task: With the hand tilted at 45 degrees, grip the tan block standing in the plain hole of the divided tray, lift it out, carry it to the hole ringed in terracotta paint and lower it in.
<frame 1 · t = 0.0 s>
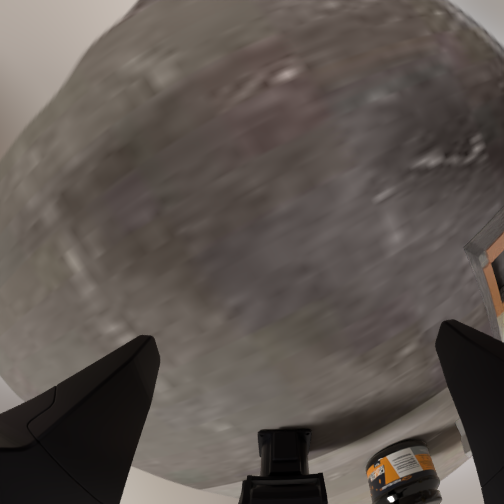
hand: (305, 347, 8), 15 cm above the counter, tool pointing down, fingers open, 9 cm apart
supplement container: (395, 454, 33), on the counter
lighter: (459, 419, 30), on the counter
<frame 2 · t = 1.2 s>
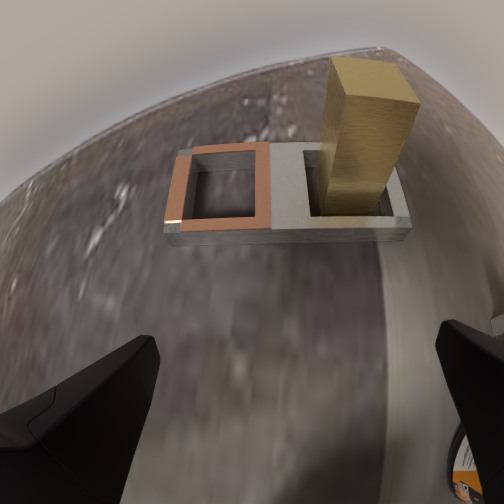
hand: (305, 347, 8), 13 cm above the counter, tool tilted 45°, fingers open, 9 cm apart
supplement container: (484, 447, 15), on the counter
tan block: (342, 197, 25), resting in divided tray
lighter: (494, 327, 19), on the counter
divided tray: (287, 197, 26), on the counter
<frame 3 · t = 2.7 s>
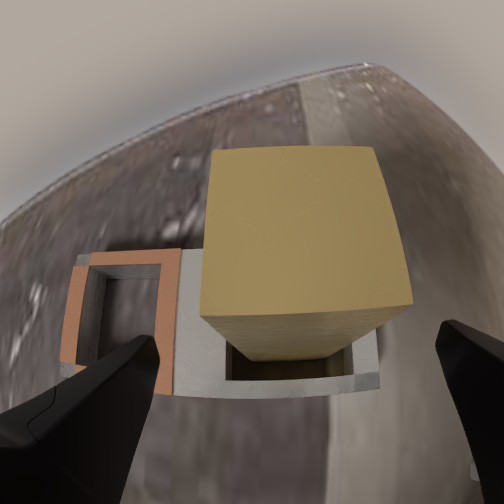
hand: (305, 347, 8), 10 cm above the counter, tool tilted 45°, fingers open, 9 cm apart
tan block: (287, 326, 18), resting in divided tray
lighter: (474, 467, 12), on the counter
divided tray: (209, 327, 19), on the counter
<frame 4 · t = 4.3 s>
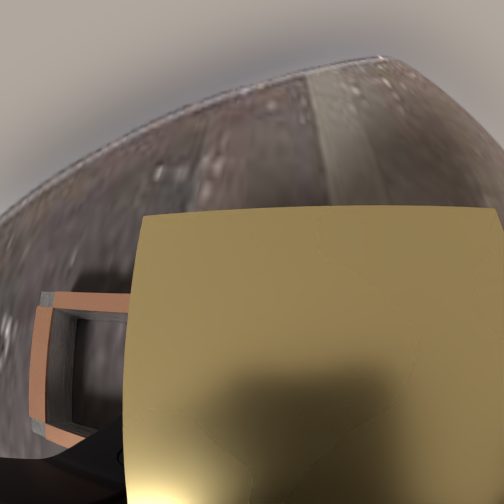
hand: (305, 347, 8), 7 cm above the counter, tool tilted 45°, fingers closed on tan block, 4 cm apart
tan block: (293, 388, 14), resting in divided tray, touching gripper
divided tray: (197, 388, 14), on the counter
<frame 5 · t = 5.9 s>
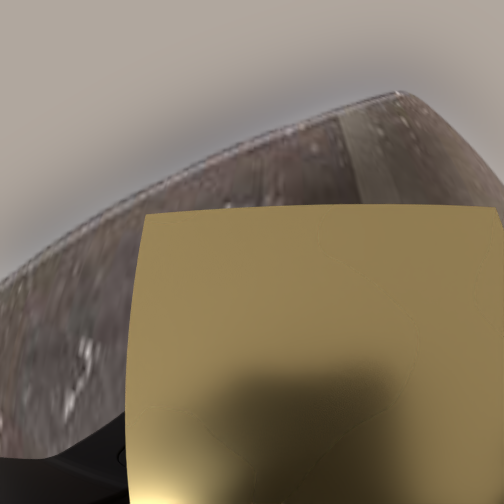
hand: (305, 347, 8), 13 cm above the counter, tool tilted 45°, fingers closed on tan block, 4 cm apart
tan block: (293, 388, 14), point 6 cm above the counter, touching gripper
when the fingers open (8 cm above the counter, at t = 7.9 s): tan block drops 1 cm, resting in divided tray.
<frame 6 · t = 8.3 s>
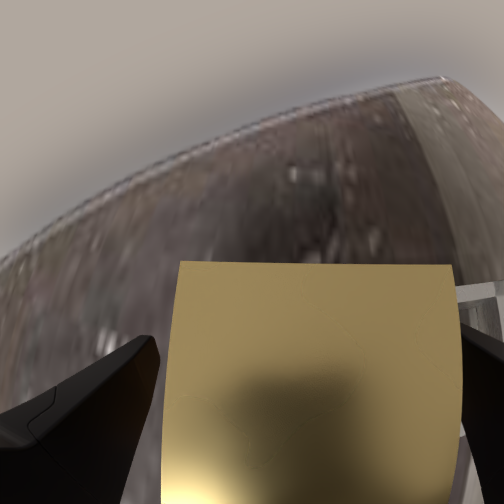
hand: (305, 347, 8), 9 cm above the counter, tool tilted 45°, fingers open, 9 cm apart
tan block: (289, 388, 15), resting in divided tray
divided tray: (376, 378, 15), on the counter
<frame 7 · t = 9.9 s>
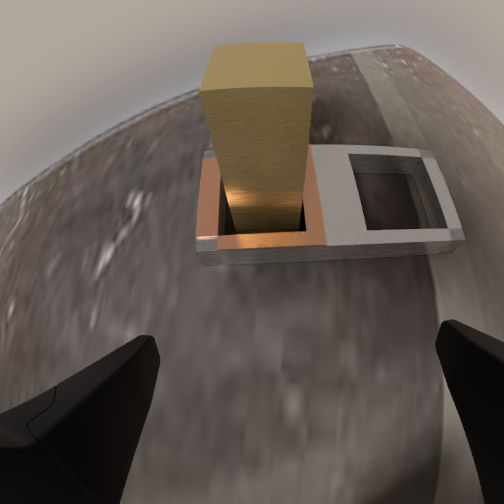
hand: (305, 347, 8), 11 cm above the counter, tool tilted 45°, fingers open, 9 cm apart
tan block: (267, 211, 23), resting in divided tray
divided tray: (332, 207, 22), on the counter
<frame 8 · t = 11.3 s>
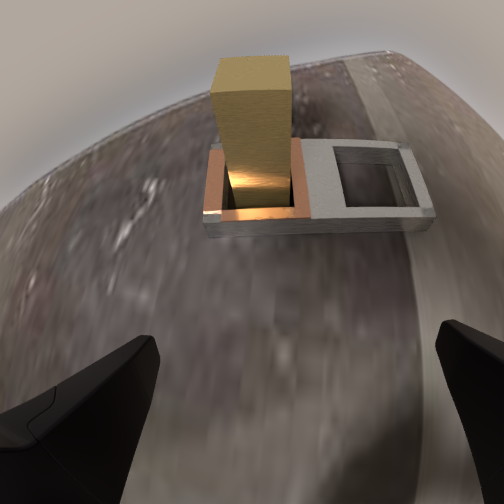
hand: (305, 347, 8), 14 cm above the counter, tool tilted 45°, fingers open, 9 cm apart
tan block: (264, 194, 27), resting in divided tray
divided tray: (319, 191, 26), on the counter
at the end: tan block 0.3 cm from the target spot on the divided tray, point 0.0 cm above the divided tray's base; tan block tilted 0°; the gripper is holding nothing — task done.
